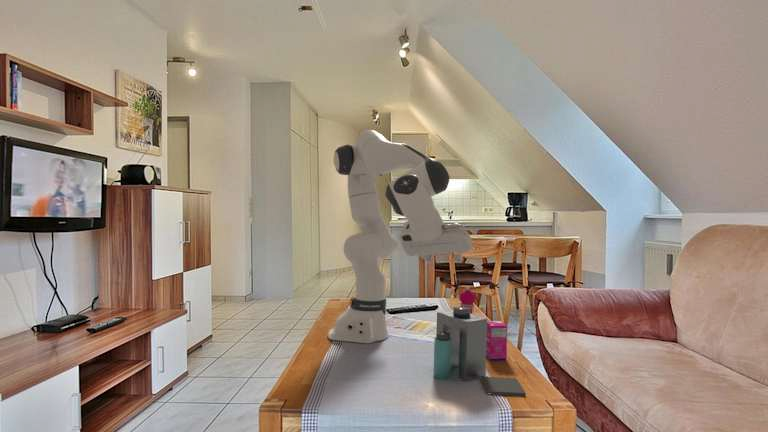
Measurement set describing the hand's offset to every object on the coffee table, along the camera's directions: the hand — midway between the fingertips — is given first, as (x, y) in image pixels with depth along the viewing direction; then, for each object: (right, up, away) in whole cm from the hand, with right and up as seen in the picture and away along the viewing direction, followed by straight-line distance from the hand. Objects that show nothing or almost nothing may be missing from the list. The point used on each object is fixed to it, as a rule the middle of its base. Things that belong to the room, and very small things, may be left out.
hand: (445, 261), depth 129 cm
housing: (+5, -33, +2) cm, 34 cm away
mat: (+14, -34, -8) cm, 38 cm away
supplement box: (+19, -34, +15) cm, 41 cm away
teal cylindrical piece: (-1, -33, -2) cm, 33 cm away
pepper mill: (+12, -33, +34) cm, 49 cm away
